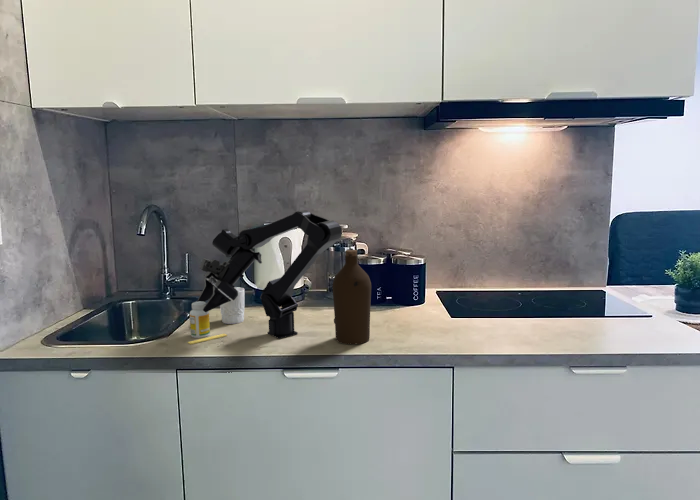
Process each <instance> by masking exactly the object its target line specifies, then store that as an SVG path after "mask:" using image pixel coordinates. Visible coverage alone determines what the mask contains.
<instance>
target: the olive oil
mask: <svg viewBox="0 0 700 500" xmlns="http://www.w3.org/2000/svg"><path fill="white" fill-rule="evenodd" d="M344 258H345V259H344V260H345V261H344V262H345V264H344V265H343V266H342V268H341V269H340V270H338V271H337V273H336V274H335V275H334V277H333V280H332V281H333V282H332V298H333V299H332V300H333V312H334V313H333V315H334V319H333V324H334V328H335V341H336V342H338V343H340V344H344V345H353V346H354V345H361V344H365V343H367V342H369V340H370V337H371V336H370V335H371V334H370V333H371V332H370V331H371V330H370V328H371V326H370V325H371V306H372V305H371V303H372V302H371V300H372V282H371V279H370V276H369V274H368V273H367V272H366V271H365V270H364V269H363V268H362V267H361V266H360V265H359V263H358V262H359V261H358V260H359V257H358V250H357V249H345V255H344Z"/></svg>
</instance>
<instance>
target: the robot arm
mask: <svg viewBox="0 0 700 500" xmlns="http://www.w3.org/2000/svg"><path fill="white" fill-rule="evenodd" d="M298 228H300V230H301V231H303V233H304V234H305V235H306V236H307V240H306V245H305V246H304V248H302V250H301V251H300V253H299V254H298V255H297V257H296V258H294V261H293V262H292V263H291V264H290V266H289V267H288V269H287V270H286V271H285V272H284V274H283V275H282V276H281V277H278V278H275V279H272V280H269V281H268V282H267V284H266V286H265V287H264V288H263V289H261V290H260V291H261V292H262V293H261V294H260V300H261V304H262V307H263V310H264V312H265V315H266V317H269V319H268V331H267V335H269V336H271V337H274V338H276V339H279V340H280V339H283V338H287V337H291V336H295V335H296V336H297V335H298V334H299V333H298V331H296V330H295V312H296V311H297V310H298V305H299V304H298V302H297V301H296V300H295V299H294V297H293V294H294V290H295V286H296V285H297V284H298V283H299V281H300V280H301V279H302V278H303V276H304V275H305V274H306V273H307V271H309V269H310V268H311V267H312V265H313V263H314V262H316V260H317V259H318V258H319V257H320V256H321V254H322V253H323V252H325V251H326V250H327V249H329V248H330V247H332V246H333V245H334V244H335V243H336V242H338V241H339V240H340V239H341V238H342V236H343V232H342V231H343V230H342V227H341V225H340V223H338V222H337V221H335V220H330V219H327V218H325V217H323V216H319V215H316V214H314V213H312V212H310V211H308V210H306V209H304V210H298V211H295V212H293V213H292V214H290V215H287V216H285V217H283V218H280V219H278V220H275V221H274V222H271V223H269V224H266V225H264V226H260V227H254V228H248V229H244V230H241V231H240V232H239V233H238V236H236V235H235V234H233V233H232V232H231V231H230V229H228V228H225V229H221V232H219V233H218V234H217V235H216V236H215V237H214V239H212V244H211V245H212V247H213V248H214V249H216V250H217V251H218V252H219V253H221V254H222V255H223V256H224V257H225V258H229V259H228V260H225V261H223V262H222V263H220V261H219V260H217V259H215V258H213V259H209V258H206V257H203V258H202V261H201V263H200V265H199V269H200V270H201V271H203V272H206V273H205V274H204V275H203V276H204V277H203V280H204V286H203V289H202V291H201V292H200V295H199V297H198V298H197V300H196V302H198V301H203V302H206V305H205V307H204V309H203V311H204V312H208V311H209V312H210V311H211V310H213V309H215V308H218V307H220V305H222V304H224V303H227V302H229V301H231V300H230V299H229V298H231V299H232V300H235V298H236V297H237V296H238V291H237V290H236V289H235V288H234V287H236V286H234V285H235V284H236V283H237V282H238V280H239V279H240V278H241V279H243V278H244V277H245V275H244V274H245V272H246V271H247V270H248V269H249V268H250V266H251V265H252V264H253V263H254V262H257V263H258V264H259V265H261V264H262V263H263V262H262V254H261V253H260V252H259V251H257V252H256V251H254V250H253V249H258V248H261V247H264V246H265V245H266V244H268V243H269V242H271V240H272V239H273V238H275V237H278V236H281V235H284V234H285V233H288V232H291V231H293V230H295V229H298Z"/></svg>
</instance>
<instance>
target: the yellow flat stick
mask: <svg viewBox="0 0 700 500" xmlns="http://www.w3.org/2000/svg"><path fill="white" fill-rule="evenodd" d="M227 336H228V335H227V334H226V333H221V334H217V335H212V336H207V337H203V338H198V339H195V340H191V341H188V342H187V344H189V345H190V346H191V345H196V344H199V343H203V342H207V341H211V340H212V341H213V340H216V339H219V338H225V337H227Z"/></svg>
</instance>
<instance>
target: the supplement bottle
mask: <svg viewBox="0 0 700 500" xmlns="http://www.w3.org/2000/svg"><path fill="white" fill-rule="evenodd" d="M197 301H198V300H197ZM197 301H193V302H192V303H191V310H190V311H189V327H190V329H189V330H190V336H191V338H194V339H203V338H207V337H210V334H211V326H210V325H211V324H210V311H208V312H204V311H203V309H204V307H205V305H206V304H207V301H205V302H203V301H198V302H197Z"/></svg>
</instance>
